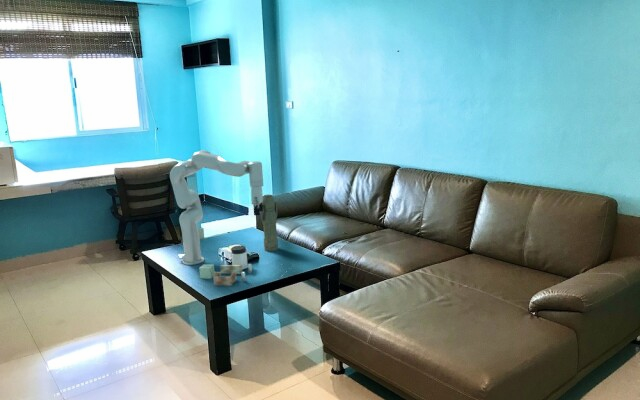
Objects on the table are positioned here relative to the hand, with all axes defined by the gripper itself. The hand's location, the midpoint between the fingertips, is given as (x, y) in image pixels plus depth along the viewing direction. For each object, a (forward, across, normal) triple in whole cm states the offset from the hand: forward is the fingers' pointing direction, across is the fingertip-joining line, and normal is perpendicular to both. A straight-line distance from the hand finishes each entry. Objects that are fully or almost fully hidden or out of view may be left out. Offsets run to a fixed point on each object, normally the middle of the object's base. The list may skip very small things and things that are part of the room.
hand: (258, 213), depth 281 cm
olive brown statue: (+30, -25, +1) cm, 40 cm away
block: (+30, +19, -27) cm, 45 cm away
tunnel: (+30, +23, -15) cm, 41 cm away
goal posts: (+30, +21, -4) cm, 37 cm away
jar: (+30, +7, -12) cm, 33 cm away
